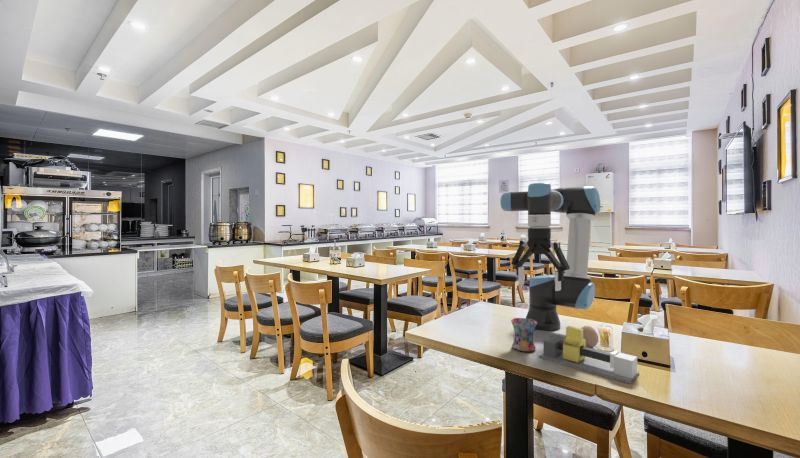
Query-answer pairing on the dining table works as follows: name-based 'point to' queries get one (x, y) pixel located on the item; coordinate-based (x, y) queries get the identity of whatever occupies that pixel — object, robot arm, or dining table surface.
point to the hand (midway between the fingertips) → (538, 287)
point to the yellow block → (573, 344)
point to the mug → (523, 334)
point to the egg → (590, 336)
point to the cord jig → (618, 369)
